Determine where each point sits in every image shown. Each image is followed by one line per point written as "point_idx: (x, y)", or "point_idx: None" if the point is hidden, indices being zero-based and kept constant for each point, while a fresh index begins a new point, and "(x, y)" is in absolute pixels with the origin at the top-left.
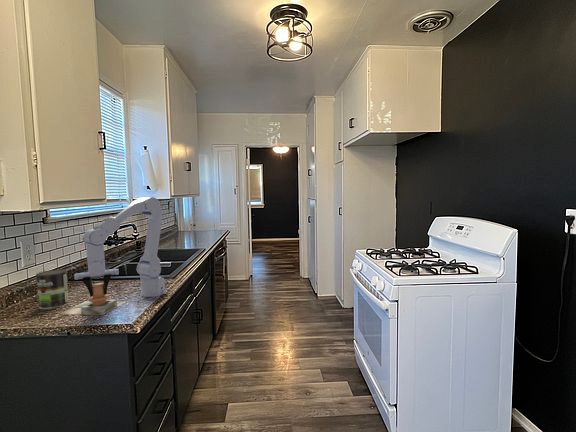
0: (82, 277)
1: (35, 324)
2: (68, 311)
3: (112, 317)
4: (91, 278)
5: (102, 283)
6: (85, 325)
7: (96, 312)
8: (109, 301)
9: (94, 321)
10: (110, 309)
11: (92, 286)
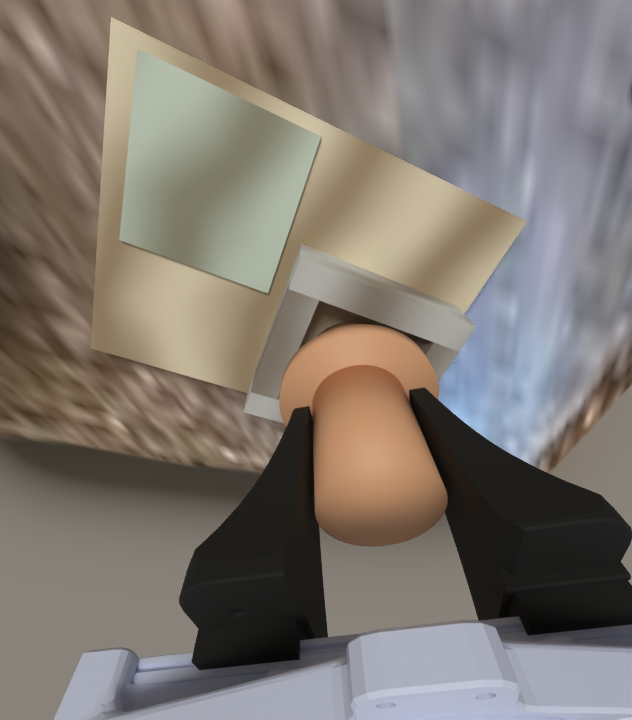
0: (202, 684)
1: (45, 409)
2: (131, 320)
3: None
4: (296, 565)
5: (430, 491)
6: None
7: None
8: (418, 334)
9: None
10: None
11: (328, 525)
